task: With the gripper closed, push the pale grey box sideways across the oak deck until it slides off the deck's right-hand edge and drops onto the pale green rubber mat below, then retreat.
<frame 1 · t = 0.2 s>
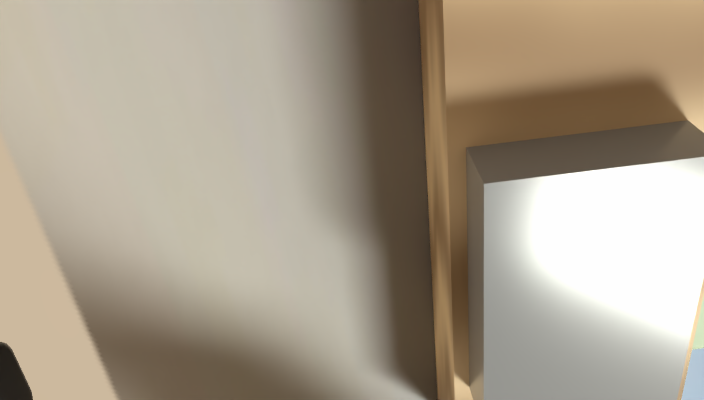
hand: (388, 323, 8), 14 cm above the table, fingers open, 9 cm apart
pale grey box: (566, 268, 20), point 4 cm above the table, touching deck
deck: (541, 199, 24), on the table
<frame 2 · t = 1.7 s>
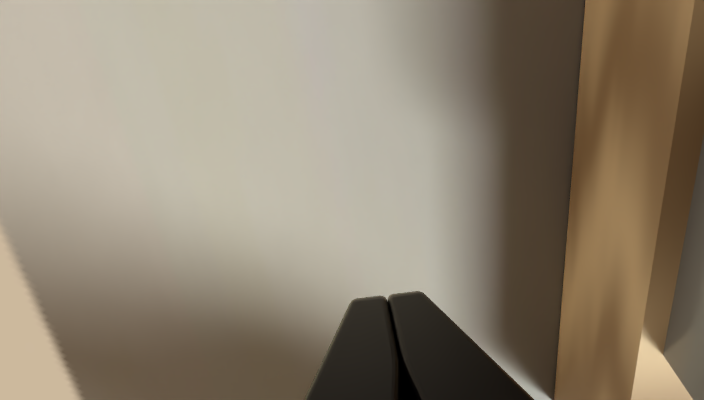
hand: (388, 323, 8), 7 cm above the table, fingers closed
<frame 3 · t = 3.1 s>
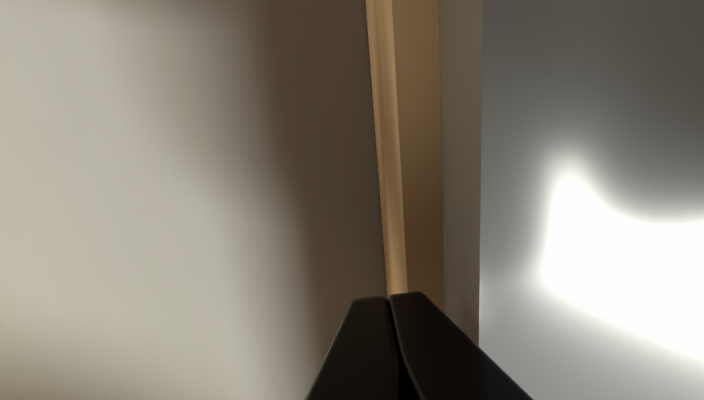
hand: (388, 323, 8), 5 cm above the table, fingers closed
pale grey box: (664, 243, 9), point 4 cm above the table, touching deck, gripper
deck: (589, 122, 12), on the table
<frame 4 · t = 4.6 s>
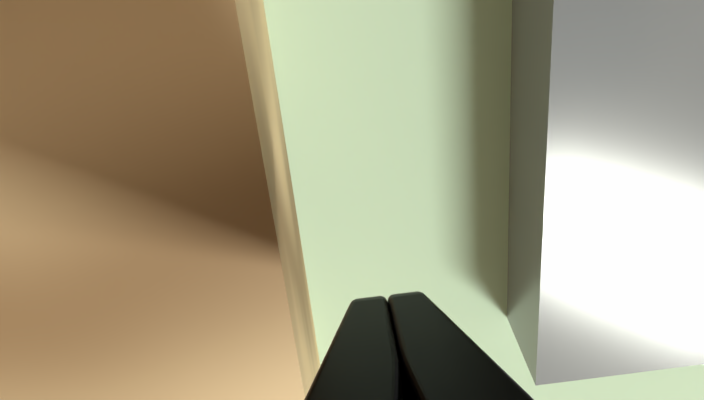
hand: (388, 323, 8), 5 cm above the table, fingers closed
mat: (526, 176, 13), on the table
deck: (74, 181, 12), on the table
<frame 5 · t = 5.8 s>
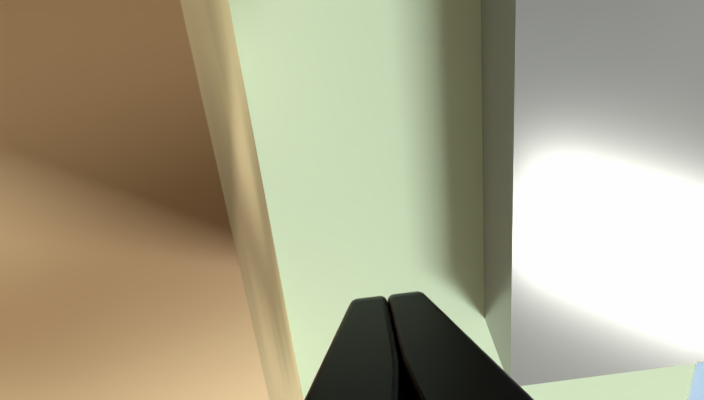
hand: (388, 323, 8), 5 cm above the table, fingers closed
mat: (501, 176, 13), on the table
deck: (43, 183, 12), on the table
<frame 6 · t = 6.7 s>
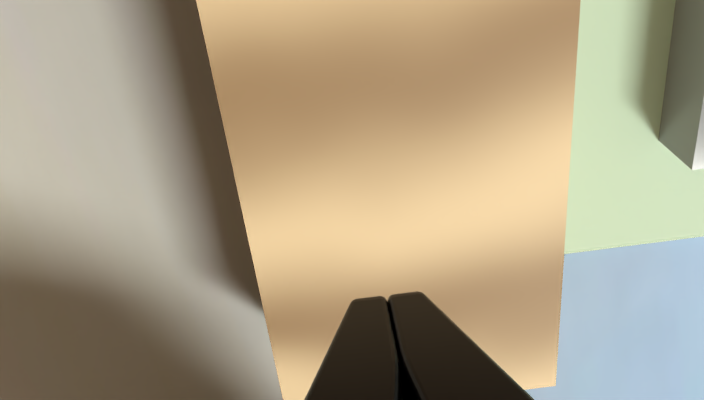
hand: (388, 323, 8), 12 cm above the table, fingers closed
mat: (681, 30, 19), on the table
deck: (379, 32, 18), on the table
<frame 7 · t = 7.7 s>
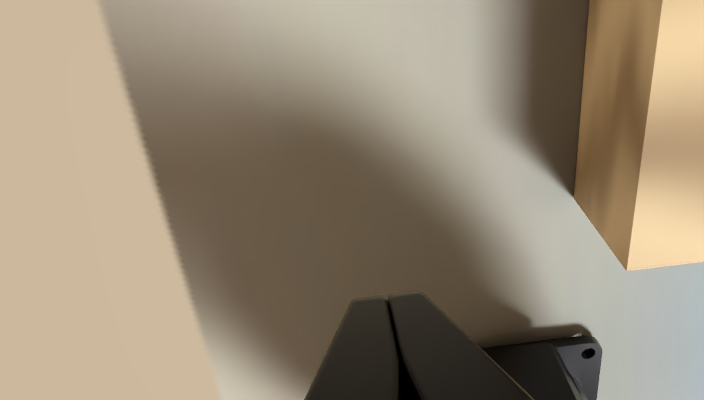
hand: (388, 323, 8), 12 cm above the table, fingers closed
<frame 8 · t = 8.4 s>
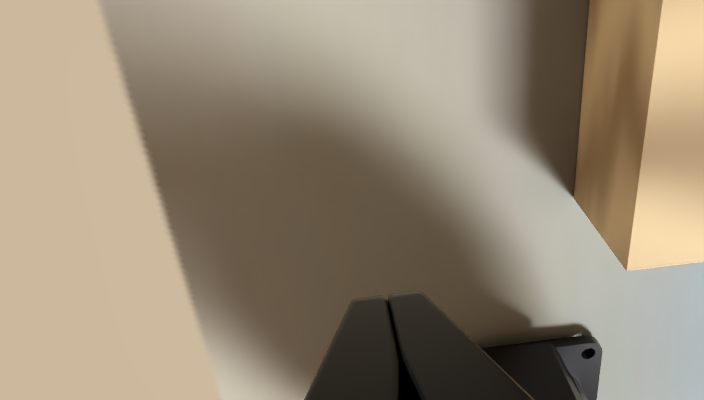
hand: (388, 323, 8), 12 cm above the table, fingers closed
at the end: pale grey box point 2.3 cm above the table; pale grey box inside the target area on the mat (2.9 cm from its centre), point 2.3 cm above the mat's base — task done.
